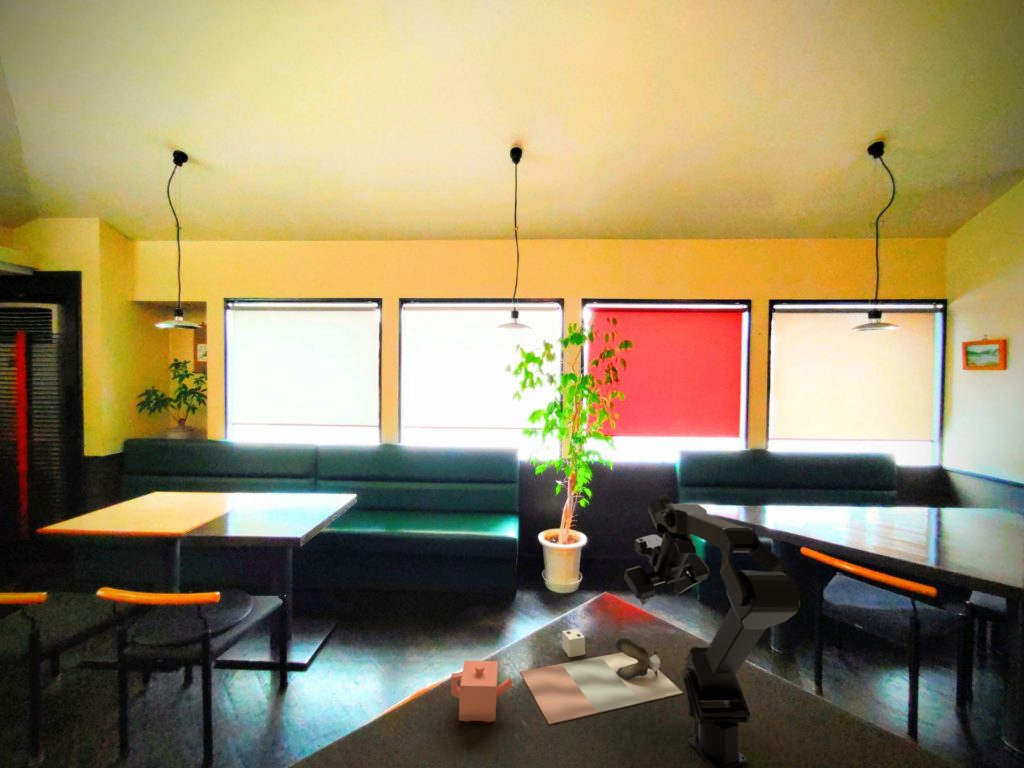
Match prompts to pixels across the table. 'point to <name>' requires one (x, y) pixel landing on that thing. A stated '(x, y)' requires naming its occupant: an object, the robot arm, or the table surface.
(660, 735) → the table surface
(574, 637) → the die
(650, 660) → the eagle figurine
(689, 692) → the robot arm
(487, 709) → the pink cube teapot
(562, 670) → the game mat
